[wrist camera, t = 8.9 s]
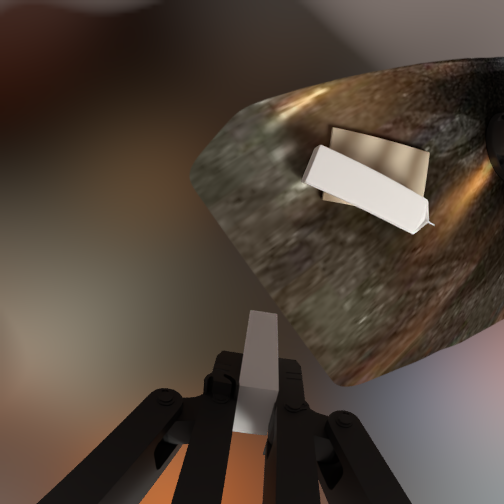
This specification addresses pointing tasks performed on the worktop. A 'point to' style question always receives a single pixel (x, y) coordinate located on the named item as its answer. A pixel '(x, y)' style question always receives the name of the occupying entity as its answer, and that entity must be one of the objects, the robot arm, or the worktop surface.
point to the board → (382, 159)
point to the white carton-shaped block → (366, 189)
